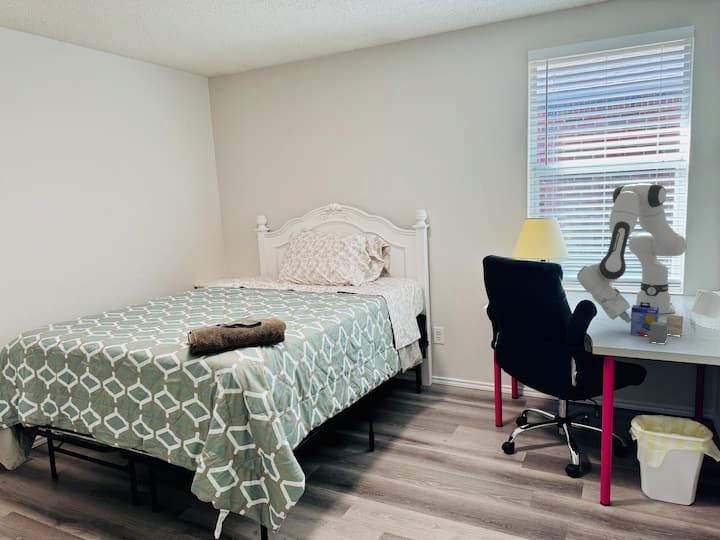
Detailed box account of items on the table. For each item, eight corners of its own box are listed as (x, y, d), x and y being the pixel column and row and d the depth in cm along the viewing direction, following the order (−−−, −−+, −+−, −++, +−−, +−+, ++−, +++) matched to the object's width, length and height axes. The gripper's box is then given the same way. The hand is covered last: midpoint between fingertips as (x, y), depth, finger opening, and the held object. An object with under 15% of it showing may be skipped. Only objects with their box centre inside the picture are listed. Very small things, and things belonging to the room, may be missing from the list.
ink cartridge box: (629, 334, 213) (631, 301, 211) (631, 331, 218) (632, 299, 215) (656, 338, 208) (658, 304, 205) (657, 334, 212) (659, 301, 210)
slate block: (652, 340, 205) (653, 321, 204) (666, 342, 202) (667, 322, 201) (649, 343, 202) (650, 323, 200) (663, 345, 198) (664, 325, 197)
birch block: (668, 332, 214) (669, 314, 213) (681, 334, 211) (683, 316, 210) (665, 335, 211) (666, 317, 209) (679, 337, 207) (680, 318, 206)
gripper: (605, 296, 211) (629, 322, 206) (618, 288, 226) (641, 312, 222) (593, 305, 215) (617, 331, 210) (607, 297, 230) (630, 320, 225)
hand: (630, 321), depth 216 cm, fingers closed, pressing on ink cartridge box
